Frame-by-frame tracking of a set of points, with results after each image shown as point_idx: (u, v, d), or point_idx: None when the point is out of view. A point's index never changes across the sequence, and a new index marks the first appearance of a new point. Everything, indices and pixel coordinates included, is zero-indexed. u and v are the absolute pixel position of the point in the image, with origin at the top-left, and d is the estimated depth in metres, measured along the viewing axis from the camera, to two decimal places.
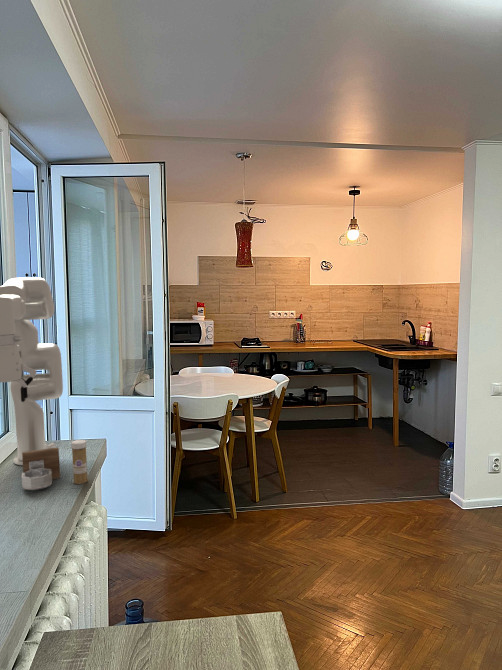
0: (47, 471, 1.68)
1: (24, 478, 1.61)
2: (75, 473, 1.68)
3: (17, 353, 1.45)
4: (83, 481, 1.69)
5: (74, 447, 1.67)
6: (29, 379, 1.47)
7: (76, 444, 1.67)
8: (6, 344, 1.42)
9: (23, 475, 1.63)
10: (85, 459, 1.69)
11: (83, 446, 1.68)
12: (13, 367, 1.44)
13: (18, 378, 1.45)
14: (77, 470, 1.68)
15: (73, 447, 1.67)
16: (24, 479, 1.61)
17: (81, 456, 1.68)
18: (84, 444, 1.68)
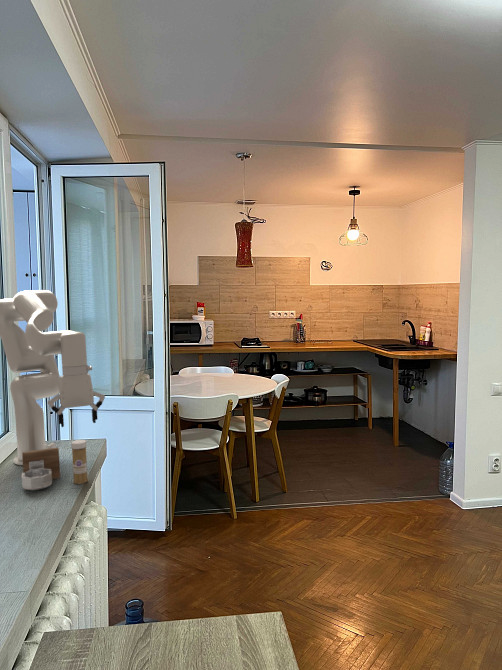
0: (47, 471, 1.68)
1: (24, 478, 1.61)
2: (75, 473, 1.68)
3: (90, 381, 1.67)
4: (83, 481, 1.69)
5: (74, 447, 1.67)
6: (99, 403, 1.69)
7: (76, 444, 1.67)
8: (82, 373, 1.64)
9: (23, 475, 1.63)
10: (85, 459, 1.69)
11: (83, 446, 1.68)
12: (87, 393, 1.66)
13: (91, 402, 1.67)
14: (77, 470, 1.68)
15: (73, 447, 1.67)
16: (24, 479, 1.61)
17: (81, 456, 1.68)
18: (84, 444, 1.68)
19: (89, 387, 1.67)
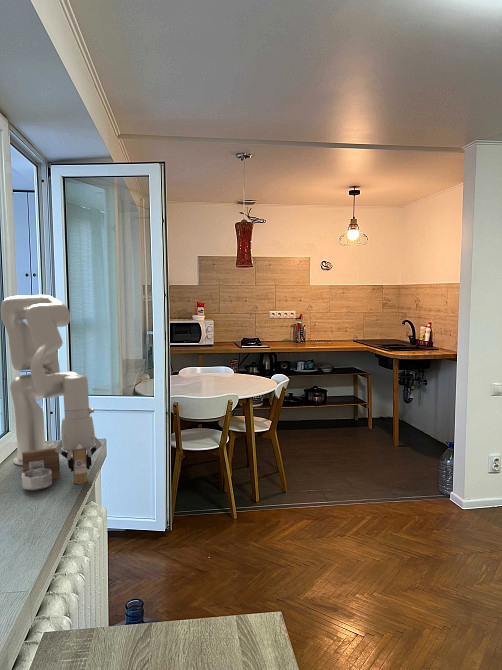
0: (47, 471, 1.68)
1: (24, 478, 1.61)
2: (75, 473, 1.68)
3: (92, 423, 1.68)
4: (83, 481, 1.69)
5: None
6: (93, 449, 1.70)
7: None
8: (84, 417, 1.66)
9: (23, 475, 1.63)
10: (85, 459, 1.69)
11: None
12: (89, 436, 1.68)
13: (92, 445, 1.69)
14: (77, 470, 1.68)
15: None
16: (24, 479, 1.61)
17: (81, 456, 1.68)
18: None
19: (91, 430, 1.68)
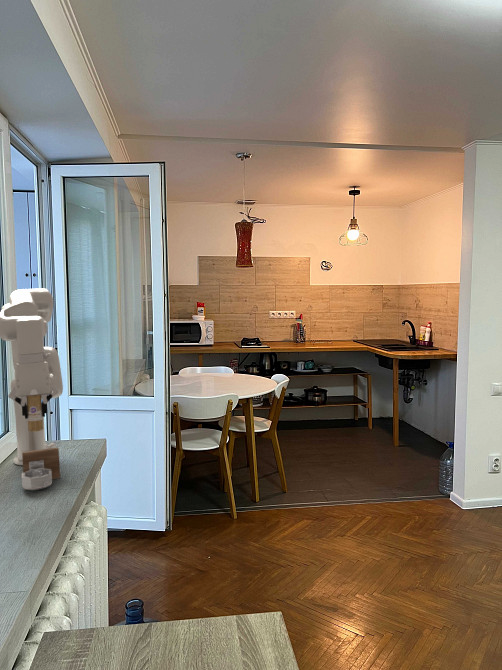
0: (47, 471, 1.68)
1: (24, 478, 1.61)
2: (29, 420, 1.61)
3: (47, 369, 1.62)
4: (38, 429, 1.62)
5: None
6: (49, 396, 1.64)
7: None
8: (38, 361, 1.59)
9: (23, 475, 1.63)
10: (40, 406, 1.63)
11: None
12: (44, 381, 1.61)
13: (48, 391, 1.62)
14: (31, 417, 1.61)
15: None
16: (24, 479, 1.61)
17: (35, 403, 1.61)
18: None
19: (46, 375, 1.62)
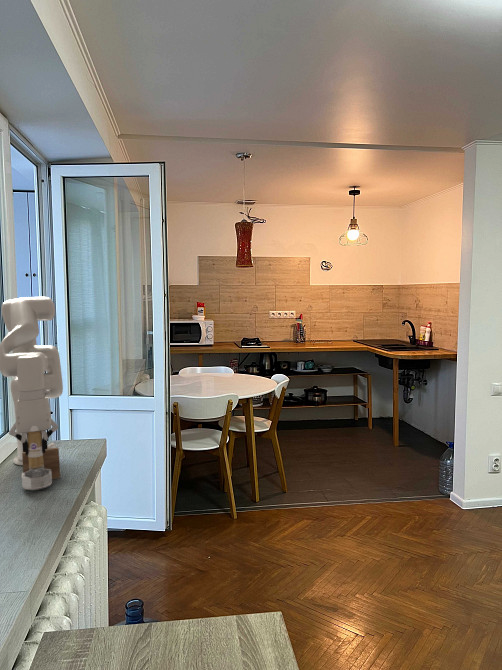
0: (47, 471, 1.68)
1: (24, 478, 1.61)
2: (30, 457, 1.62)
3: (47, 405, 1.63)
4: (38, 465, 1.62)
5: None
6: (49, 432, 1.64)
7: None
8: (38, 398, 1.60)
9: (23, 475, 1.63)
10: (41, 442, 1.63)
11: None
12: (44, 418, 1.62)
13: (48, 427, 1.63)
14: (31, 453, 1.62)
15: None
16: (24, 479, 1.61)
17: (36, 439, 1.62)
18: None
19: (46, 412, 1.62)
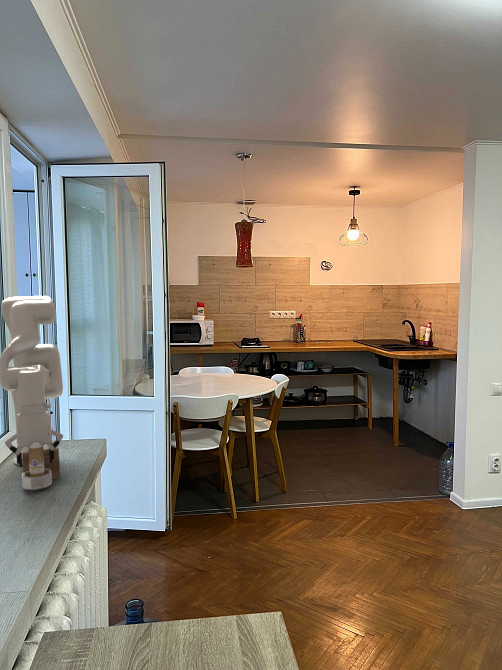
0: (47, 471, 1.68)
1: (24, 478, 1.61)
2: (31, 473, 1.63)
3: (48, 419, 1.63)
4: None
5: (30, 446, 1.62)
6: (56, 442, 1.65)
7: None
8: (39, 412, 1.61)
9: (23, 475, 1.63)
10: (42, 459, 1.64)
11: (40, 445, 1.63)
12: (45, 432, 1.63)
13: (49, 441, 1.64)
14: (33, 470, 1.63)
15: None
16: (24, 479, 1.61)
17: (37, 456, 1.63)
18: None
19: (47, 426, 1.63)
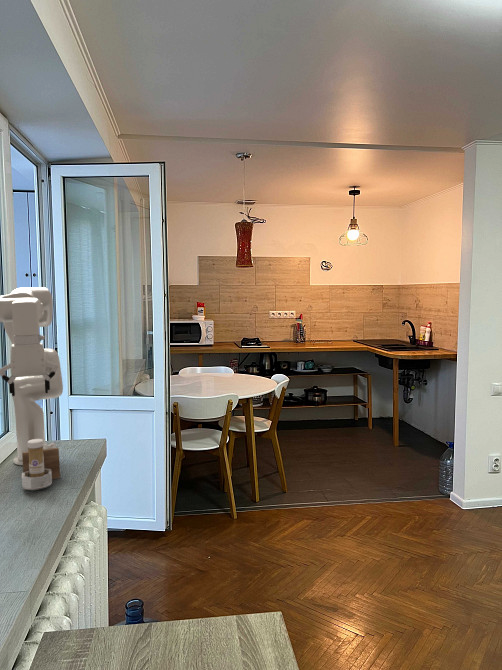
0: (47, 471, 1.68)
1: (24, 478, 1.61)
2: (31, 473, 1.63)
3: (42, 351, 1.64)
4: None
5: (30, 446, 1.62)
6: (52, 373, 1.67)
7: (32, 443, 1.62)
8: (33, 343, 1.61)
9: (23, 475, 1.63)
10: (42, 459, 1.64)
11: (39, 445, 1.63)
12: (39, 363, 1.64)
13: (43, 372, 1.65)
14: (33, 470, 1.63)
15: (29, 446, 1.62)
16: (24, 479, 1.61)
17: (37, 456, 1.63)
18: (41, 443, 1.63)
19: (41, 357, 1.64)
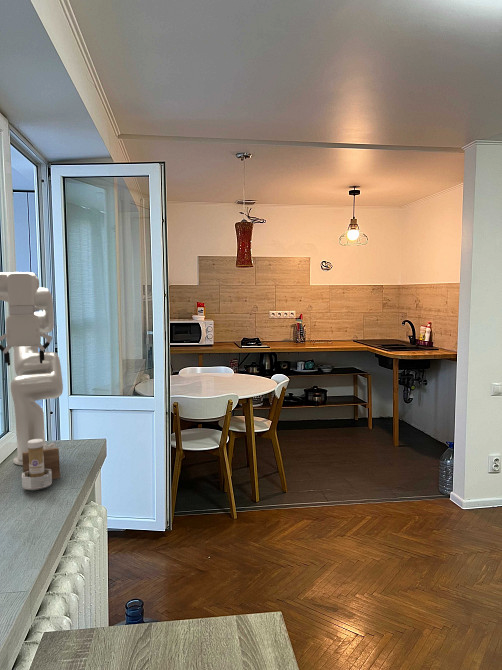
0: (47, 471, 1.68)
1: (24, 478, 1.61)
2: (31, 473, 1.63)
3: (37, 321, 1.69)
4: None
5: (30, 446, 1.62)
6: (46, 344, 1.71)
7: (32, 443, 1.62)
8: (28, 313, 1.66)
9: (23, 475, 1.63)
10: (42, 459, 1.64)
11: (39, 445, 1.63)
12: (33, 333, 1.68)
13: (37, 343, 1.69)
14: (33, 470, 1.63)
15: (29, 446, 1.62)
16: (24, 479, 1.61)
17: (37, 456, 1.63)
18: (41, 443, 1.63)
19: (35, 327, 1.68)
